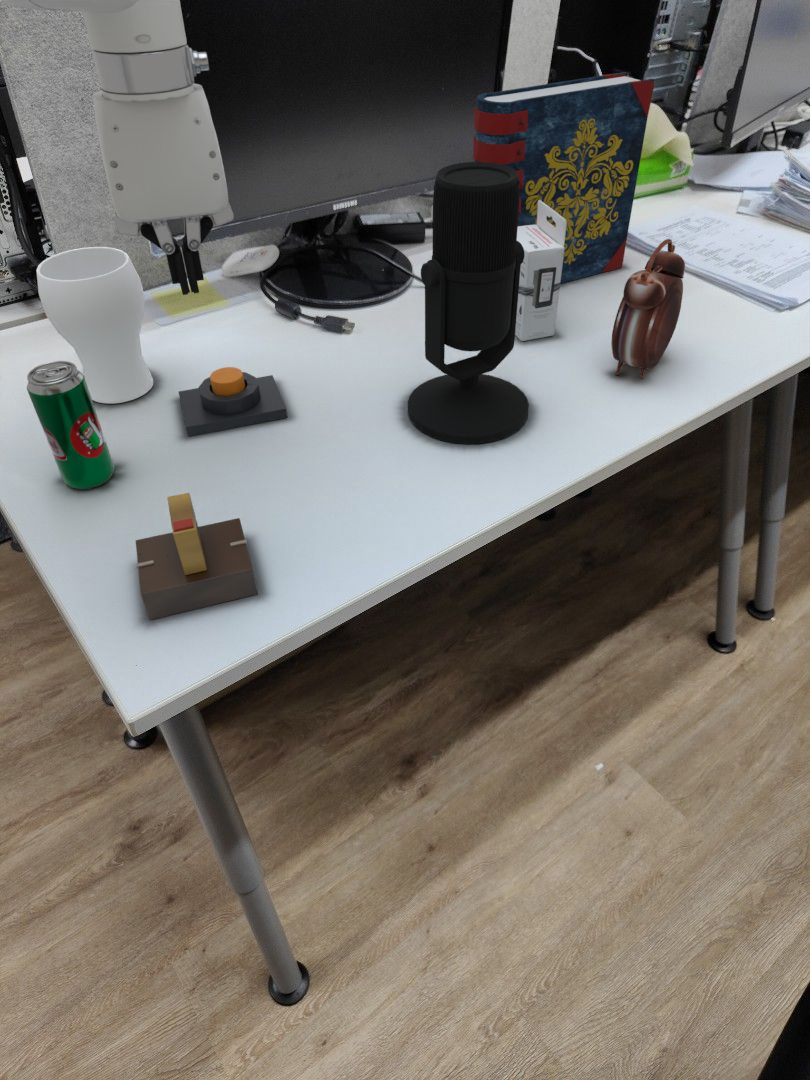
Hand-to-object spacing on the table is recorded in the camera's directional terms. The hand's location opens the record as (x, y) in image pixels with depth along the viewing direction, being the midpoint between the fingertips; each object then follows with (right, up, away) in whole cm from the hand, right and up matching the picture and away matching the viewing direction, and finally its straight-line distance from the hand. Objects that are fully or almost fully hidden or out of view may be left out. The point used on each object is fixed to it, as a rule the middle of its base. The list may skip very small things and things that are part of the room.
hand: (189, 288), depth 75 cm
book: (+42, +14, +38) cm, 58 cm away
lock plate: (+3, -28, -9) cm, 30 cm away
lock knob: (+3, -26, -11) cm, 28 cm away
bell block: (+1, -10, +12) cm, 16 cm away
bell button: (+1, -8, +11) cm, 13 cm away
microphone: (+28, -10, +11) cm, 32 cm away
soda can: (-11, -18, +3) cm, 22 cm away
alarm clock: (+49, -4, +18) cm, 53 cm away
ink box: (+37, +4, +27) cm, 46 cm away
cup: (-13, -7, +16) cm, 22 cm away
